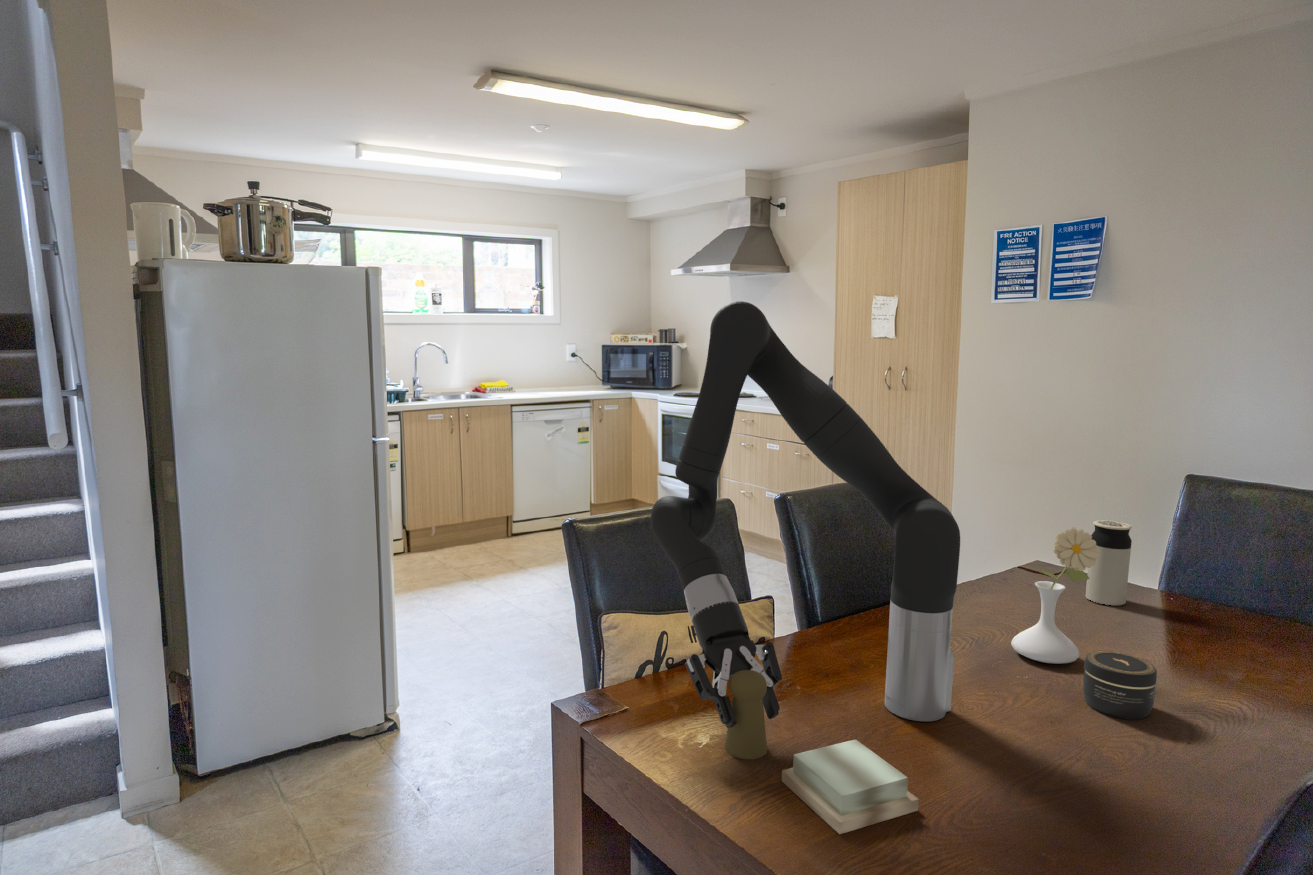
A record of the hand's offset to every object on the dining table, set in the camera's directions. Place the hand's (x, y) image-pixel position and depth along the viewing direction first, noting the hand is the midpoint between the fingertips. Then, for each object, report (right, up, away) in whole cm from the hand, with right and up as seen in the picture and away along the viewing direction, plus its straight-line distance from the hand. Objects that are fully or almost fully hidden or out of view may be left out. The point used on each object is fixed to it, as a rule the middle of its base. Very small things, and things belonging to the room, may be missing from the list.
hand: (753, 720), depth 107 cm
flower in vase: (+59, -2, +36) cm, 70 cm away
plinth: (+11, -6, -9) cm, 15 cm away
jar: (+61, -4, +17) cm, 63 cm away
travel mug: (+89, +2, +69) cm, 113 cm away
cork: (-1, -5, +2) cm, 5 cm away
